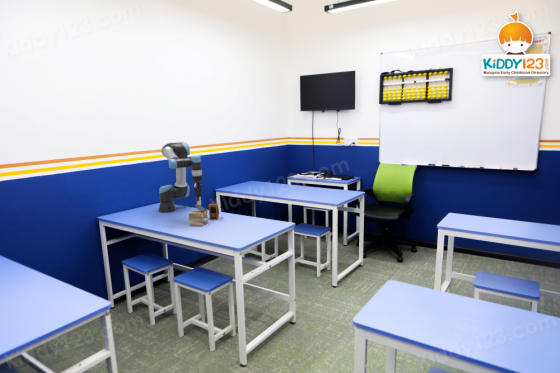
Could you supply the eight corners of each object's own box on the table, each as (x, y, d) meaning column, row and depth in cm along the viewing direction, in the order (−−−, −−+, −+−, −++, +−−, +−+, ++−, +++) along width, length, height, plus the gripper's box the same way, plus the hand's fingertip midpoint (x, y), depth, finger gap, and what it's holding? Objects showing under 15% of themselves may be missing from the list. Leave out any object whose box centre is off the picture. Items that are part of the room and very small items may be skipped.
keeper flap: (197, 204, 284) (197, 203, 283) (204, 210, 284) (205, 209, 283) (194, 205, 278) (195, 204, 277) (202, 212, 278) (202, 211, 278)
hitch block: (196, 221, 291) (195, 207, 289) (208, 221, 289) (207, 207, 287) (189, 226, 277) (188, 211, 275) (202, 226, 276) (201, 212, 273)
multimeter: (225, 216, 303) (224, 194, 299) (222, 219, 293) (221, 196, 289) (208, 216, 304) (207, 193, 301) (205, 219, 294) (203, 196, 291)
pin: (189, 224, 281) (188, 217, 280) (192, 222, 287) (191, 215, 286) (206, 224, 279) (206, 217, 278) (209, 222, 285) (208, 215, 284)
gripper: (195, 174, 283) (197, 203, 287) (189, 176, 270) (191, 206, 274) (204, 174, 282) (206, 203, 286) (198, 176, 269) (200, 206, 273)
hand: (199, 204), depth 280 cm, fingers closed
